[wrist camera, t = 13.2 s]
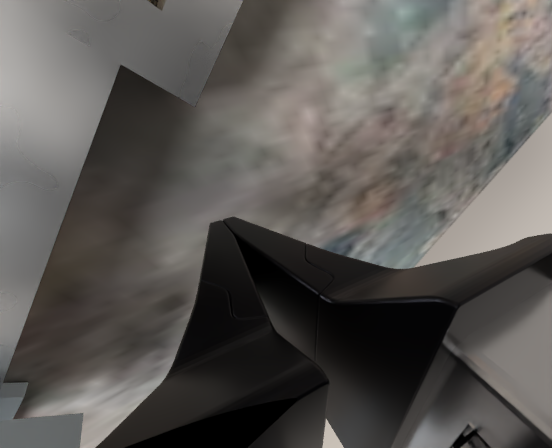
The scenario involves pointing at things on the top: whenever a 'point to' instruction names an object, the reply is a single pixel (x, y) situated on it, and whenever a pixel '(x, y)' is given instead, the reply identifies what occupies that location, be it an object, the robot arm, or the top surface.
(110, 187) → the top surface
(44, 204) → the link
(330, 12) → the top surface
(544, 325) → the robot arm
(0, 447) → the pair of pale-grey parts
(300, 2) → the top surface
